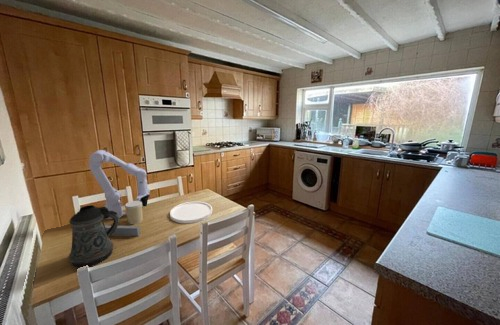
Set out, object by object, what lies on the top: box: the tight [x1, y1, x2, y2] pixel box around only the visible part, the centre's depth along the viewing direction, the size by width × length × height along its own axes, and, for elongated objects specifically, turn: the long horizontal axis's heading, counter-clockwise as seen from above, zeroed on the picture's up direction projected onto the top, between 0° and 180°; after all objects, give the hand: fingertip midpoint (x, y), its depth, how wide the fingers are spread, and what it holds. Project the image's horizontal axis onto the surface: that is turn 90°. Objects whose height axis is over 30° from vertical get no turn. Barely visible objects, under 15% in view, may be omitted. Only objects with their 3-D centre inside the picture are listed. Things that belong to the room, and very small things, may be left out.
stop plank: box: [105, 225, 141, 237], centre depth 113 cm, size 20×2×5 cm, turn 90°
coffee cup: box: [124, 200, 144, 225], centre depth 127 cm, size 9×9×12 cm
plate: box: [169, 200, 213, 224], centre depth 140 cm, size 28×28×2 cm
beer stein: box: [68, 204, 120, 269], centre depth 95 cm, size 16×19×25 cm
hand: (144, 205), depth 139 cm, fingers closed
